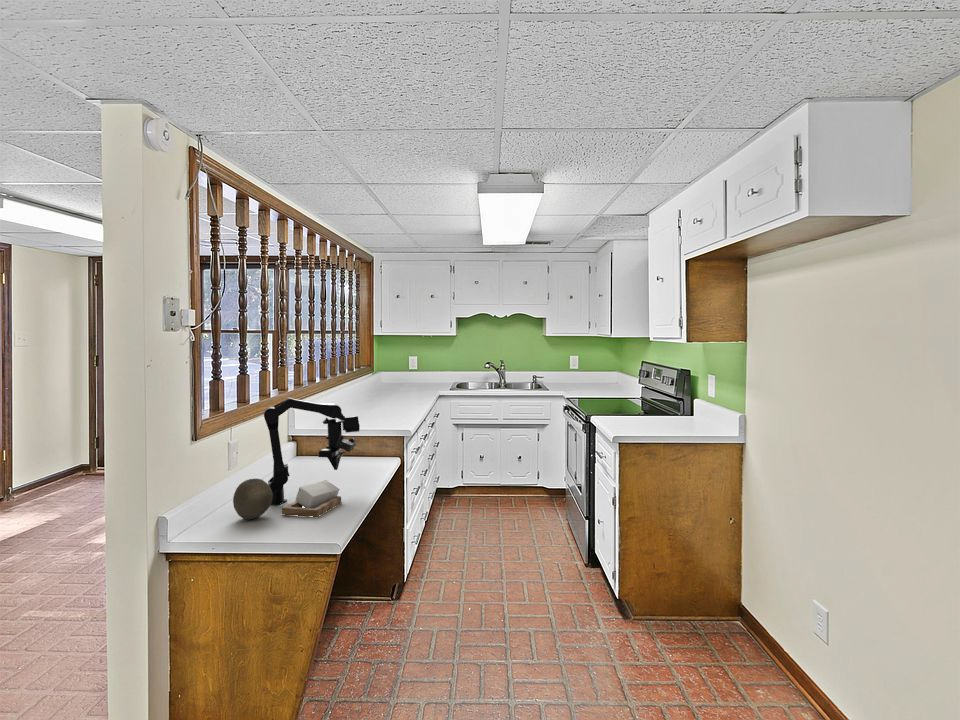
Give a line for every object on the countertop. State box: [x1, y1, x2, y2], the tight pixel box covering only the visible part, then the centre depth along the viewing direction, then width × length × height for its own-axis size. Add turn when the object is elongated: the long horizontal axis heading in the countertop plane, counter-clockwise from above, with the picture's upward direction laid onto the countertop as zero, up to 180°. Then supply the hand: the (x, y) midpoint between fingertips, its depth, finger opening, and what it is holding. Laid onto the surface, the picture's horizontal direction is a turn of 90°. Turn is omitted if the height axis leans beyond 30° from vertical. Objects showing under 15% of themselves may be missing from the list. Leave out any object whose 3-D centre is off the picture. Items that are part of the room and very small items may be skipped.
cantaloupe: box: [232, 478, 273, 520], centre depth 232 cm, size 14×14×15 cm
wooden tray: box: [281, 495, 342, 518], centre depth 243 cm, size 20×15×3 cm
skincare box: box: [294, 479, 340, 508], centre depth 248 cm, size 8×7×16 cm
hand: (335, 469), depth 261 cm, fingers closed
